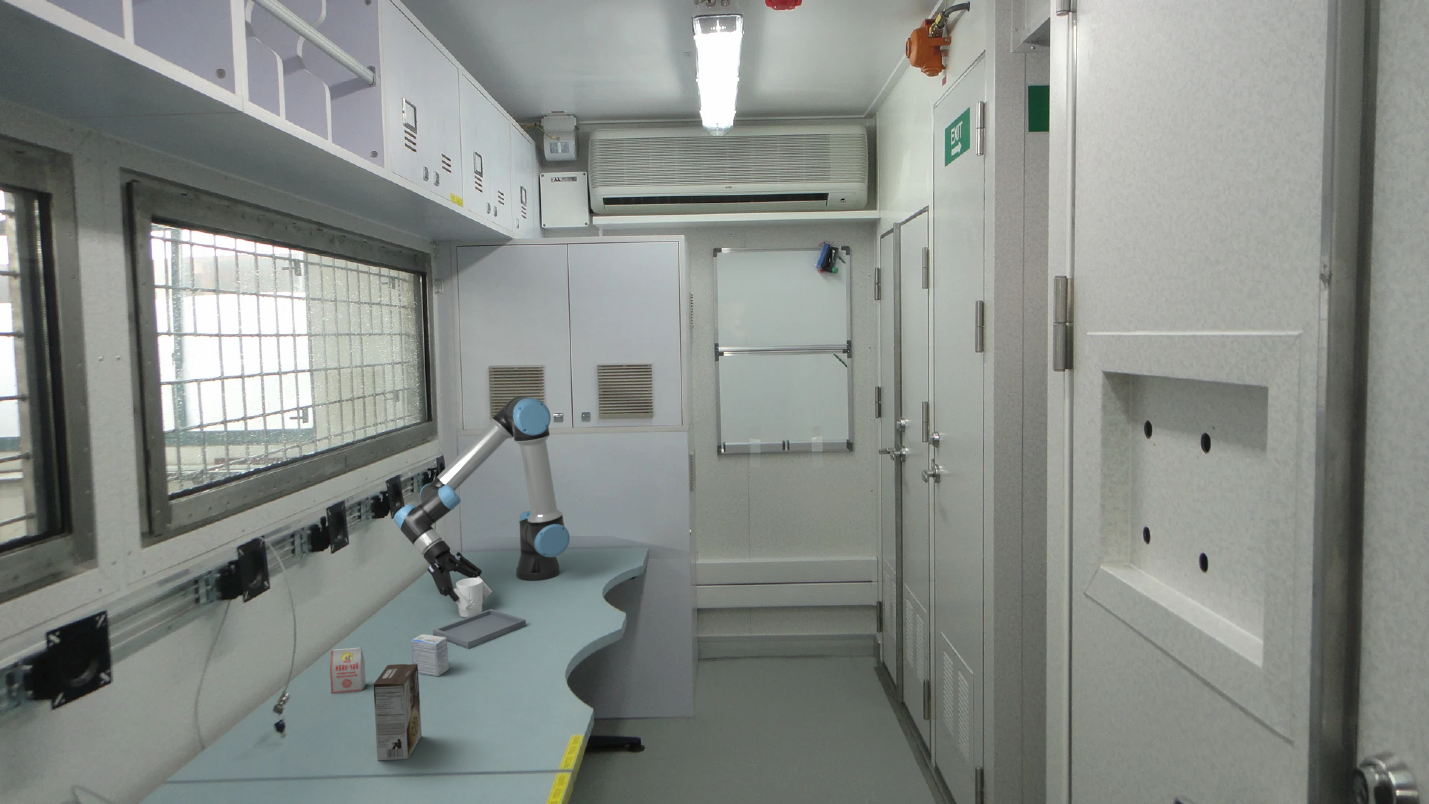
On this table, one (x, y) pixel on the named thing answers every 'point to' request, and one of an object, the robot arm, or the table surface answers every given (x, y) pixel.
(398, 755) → the coffee box
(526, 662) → the table surface
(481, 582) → the white cup
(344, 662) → the white paper packet
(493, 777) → the table surface
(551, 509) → the robot arm
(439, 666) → the medicine box
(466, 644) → the tray
